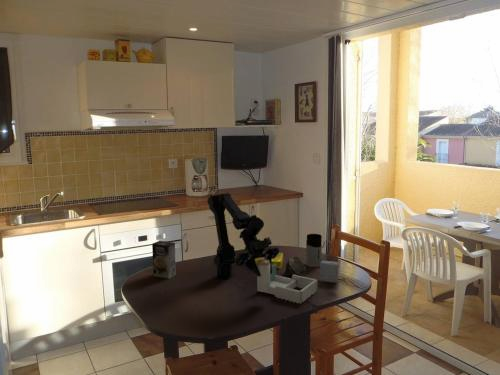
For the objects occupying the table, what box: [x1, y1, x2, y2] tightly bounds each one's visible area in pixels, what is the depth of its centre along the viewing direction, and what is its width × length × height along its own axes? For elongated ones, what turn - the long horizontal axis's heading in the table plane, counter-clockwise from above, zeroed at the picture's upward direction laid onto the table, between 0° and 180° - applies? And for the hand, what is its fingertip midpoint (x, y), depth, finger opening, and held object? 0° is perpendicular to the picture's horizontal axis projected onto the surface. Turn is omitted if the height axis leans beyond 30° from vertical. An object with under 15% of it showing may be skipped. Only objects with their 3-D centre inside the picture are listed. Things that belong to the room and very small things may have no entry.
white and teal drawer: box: [256, 264, 297, 296], centre depth 190 cm, size 12×15×8 cm
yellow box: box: [255, 252, 284, 270], centre depth 224 cm, size 15×15×5 cm
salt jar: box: [256, 259, 270, 293], centre depth 176 cm, size 5×5×12 cm
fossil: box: [284, 255, 307, 277], centre depth 209 cm, size 11×9×10 cm
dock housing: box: [274, 274, 319, 305], centre depth 185 cm, size 12×16×5 cm
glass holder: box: [304, 233, 333, 268], centre depth 221 cm, size 9×14×15 cm, turn 54°
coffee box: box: [151, 240, 177, 279], centre depth 207 cm, size 9×6×16 cm
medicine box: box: [319, 260, 340, 284], centre depth 200 cm, size 8×4×9 cm, turn 71°
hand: (265, 274), depth 174 cm, fingers closed on salt jar, 5 cm apart
